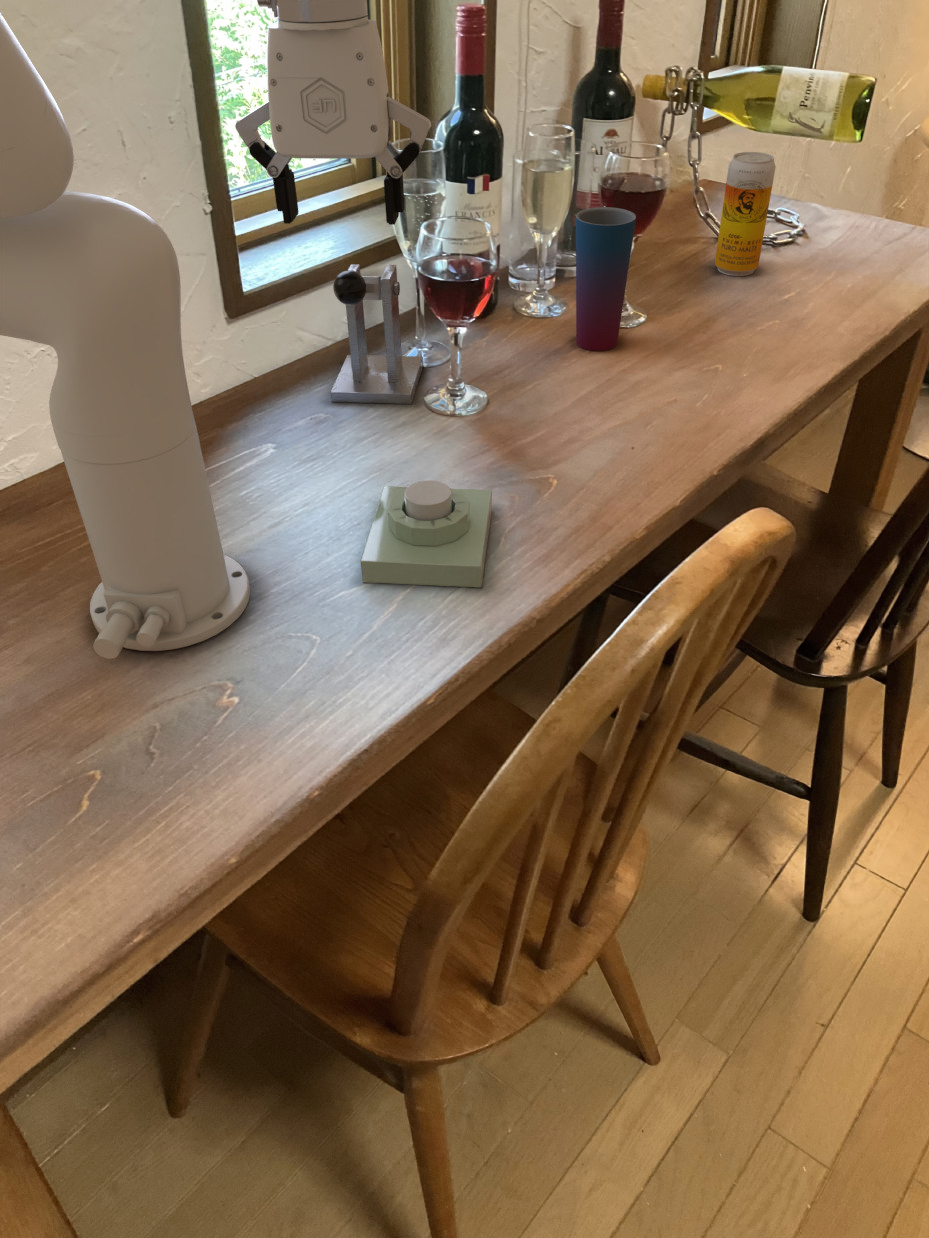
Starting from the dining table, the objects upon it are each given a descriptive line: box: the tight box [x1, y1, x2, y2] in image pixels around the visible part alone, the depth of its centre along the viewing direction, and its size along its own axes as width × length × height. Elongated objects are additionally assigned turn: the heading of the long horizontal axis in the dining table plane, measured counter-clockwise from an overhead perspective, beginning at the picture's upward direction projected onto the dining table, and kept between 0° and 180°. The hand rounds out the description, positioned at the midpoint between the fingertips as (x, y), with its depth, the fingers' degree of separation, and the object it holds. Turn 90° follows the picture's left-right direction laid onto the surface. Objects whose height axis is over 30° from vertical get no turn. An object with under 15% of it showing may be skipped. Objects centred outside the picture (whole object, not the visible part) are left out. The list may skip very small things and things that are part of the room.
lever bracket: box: [330, 263, 424, 405], centre depth 106 cm, size 10×9×13 cm
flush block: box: [360, 485, 493, 588], centre depth 83 cm, size 12×10×4 cm
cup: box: [575, 206, 637, 352], centre depth 113 cm, size 7×7×15 cm
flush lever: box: [332, 269, 382, 306], centre depth 98 cm, size 14×3×3 cm, turn 174°
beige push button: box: [404, 480, 452, 521], centre depth 82 cm, size 4×4×2 cm
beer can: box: [714, 151, 777, 277], centre depth 133 cm, size 6×6×15 cm
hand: (342, 219), depth 90 cm, fingers open, 9 cm apart
